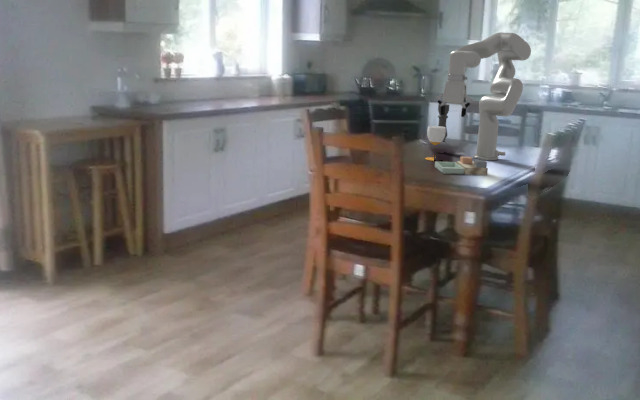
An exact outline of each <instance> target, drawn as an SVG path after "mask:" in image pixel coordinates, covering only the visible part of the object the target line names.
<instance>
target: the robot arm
mask: <svg viewBox="0 0 640 400" xmlns="http://www.w3.org/2000/svg"><path fill="white" fill-rule="evenodd" d="M531 52H532V48H531V46H530V44H529V43H528V42H527V41H526V40H525V39H524V38H522V36H520V35H519V34H517V33H515V32H495V33H492V34H491V35H490V36H488V37H486V38H485V39H482V40H481V41H477V42H473V43H470V44H466V45H463V46H461V47H459V48H457V49H455V50H453V51H451V52H450V53H449V59H448V60H449V62H448V63H449V64H448V72H447V74H448V75H447V80H446V82H445V83H444V84H445V85H444V87H443V88H444V89H443V93H441V94H439V95H436V96H435V99H436V100H437V103H438V104H440V106H441V115H444V114H445V104H456V105H457V104H458V105H461V106H462V108H461V115H460V116H461V117H462V118H464V117H465V116H466V115H467V108H469V106H470V105H471V104H472V103H473V101H474V99H473V98H471V97H470V96H469V95H467V83H466V80H467V81H468V76H466V69H474V68H477V67H478V66H479V65H480V63H481V62H482V61H481V60H482V59H487V58H490V57H492V56H494V55H496V54H497V58H498V70H497V72H496V73H495V76H494V78H493V80H492V82H491V85H490V88H489V91H490V93H491V94H490V95H489V94H488V95H484V96H482V97H481V98H480V99H479V103H478V112H479V123H478V134H477V143H476V153H475V154H473V155H472V158H474V159H475V160H484V161H497V160H499V156H503V157H504V156H506V151H499V150H498V149H497V143H498V135H499V125H500V124H499V120H498V117H509V116H511V115H512V114H513V112H514V110H516V109H515V108H516V107H517V104H518V102H519V101H520V98H521V96H522V93H523V90H524V89H523V88H524V86H523V82H522V81H521V79H519V78H517V77H516V78H515V75H516V68H515V64H514V63H513V61H521V62H522V61H526V60H528V59H529V58H530V56H531V55H532V54H531ZM441 98H442V100H441ZM466 101H467V103H466Z"/></svg>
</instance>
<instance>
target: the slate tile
mask: <svg viewBox="0 0 640 400" xmlns="http://www.w3.org/2000/svg"><path fill="white" fill-rule="evenodd" d="M473 162H474V166H475V167H476V168H488V162H487V160H481V159H474V160H473Z"/></svg>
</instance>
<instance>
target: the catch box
mask: <svg viewBox="0 0 640 400" xmlns="http://www.w3.org/2000/svg"><path fill="white" fill-rule="evenodd" d="M456 162H457V161H456ZM456 162H455V161H434V168H435V169H436V170H438V171H439V172H440V173H441V174H443V175H465V174H464V168H462V167H461V166H460V165H458V164H457V163H456Z"/></svg>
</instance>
